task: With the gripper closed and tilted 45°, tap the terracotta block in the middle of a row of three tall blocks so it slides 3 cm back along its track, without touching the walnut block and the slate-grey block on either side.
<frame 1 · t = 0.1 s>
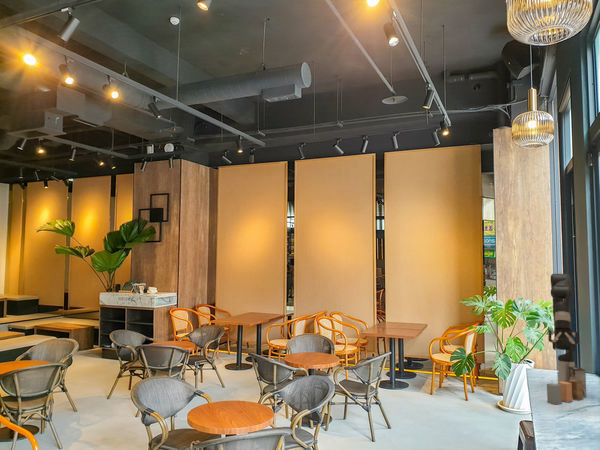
hand: (563, 350, 244), 31 cm above the table, tool tilted 20°, fingers open, 8 cm apart
coffee box: (578, 395, 272), on the table
slate block: (554, 393, 256), point 5 cm above the table, slide at 0.0 cm
walnut block: (575, 389, 265), point 5 cm above the table, slide at 0.0 cm
terracotta block: (565, 391, 260), point 5 cm above the table, slide at 0.0 cm
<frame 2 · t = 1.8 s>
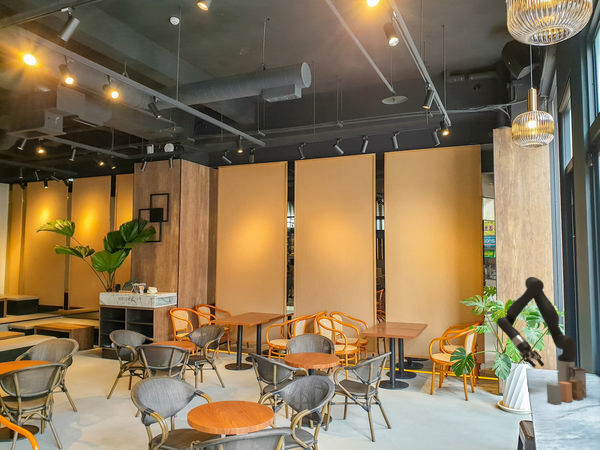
hand: (538, 366, 275), 17 cm above the table, tool tilted 45°, fingers open, 8 cm apart
nothing on the table moved.
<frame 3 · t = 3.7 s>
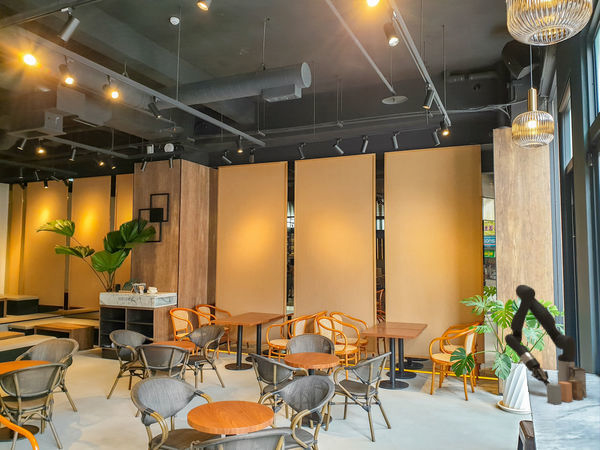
hand: (549, 386, 268), 6 cm above the table, tool tilted 45°, fingers closed
nothing on the table moved.
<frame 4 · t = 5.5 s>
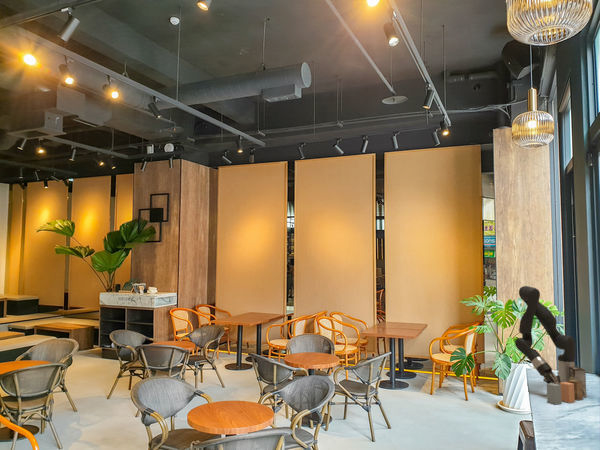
hand: (562, 391, 262), 5 cm above the table, tool tilted 45°, fingers closed
terracotta block: (567, 392, 259), point 5 cm above the table, slide at 1.4 cm, touching gripper
everything else where it was.
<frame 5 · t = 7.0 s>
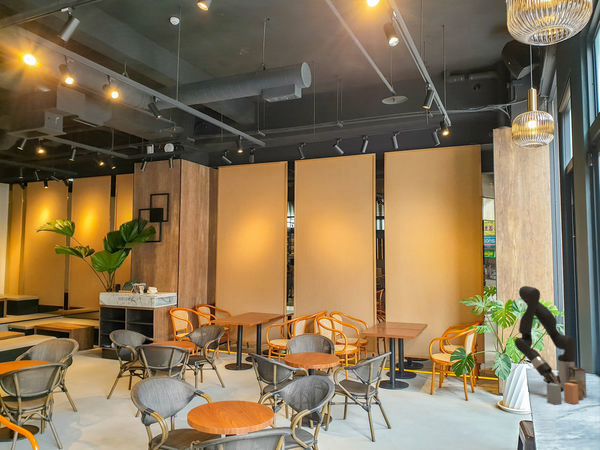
hand: (562, 391, 262), 5 cm above the table, tool tilted 45°, fingers closed
terracotta block: (571, 393, 257), point 5 cm above the table, slide at 3.6 cm
everything else where it was.
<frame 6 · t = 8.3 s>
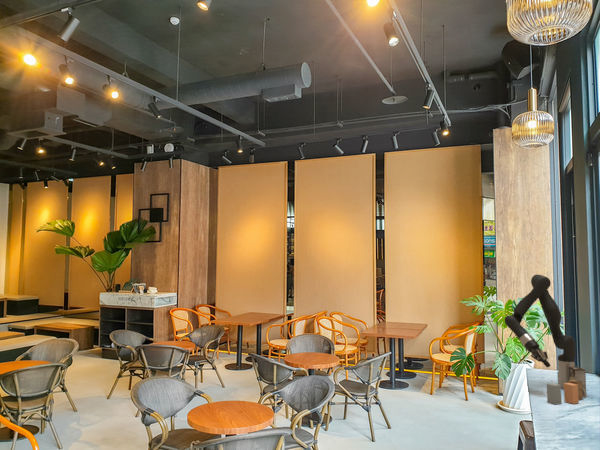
hand: (548, 366, 270), 18 cm above the table, tool tilted 45°, fingers closed
nothing on the table moved.
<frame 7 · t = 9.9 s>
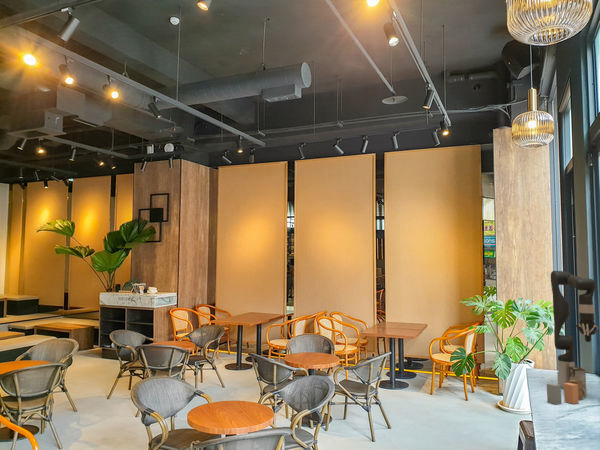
hand: (588, 341, 268), 33 cm above the table, tool pointing down, fingers closed
nothing on the table moved.
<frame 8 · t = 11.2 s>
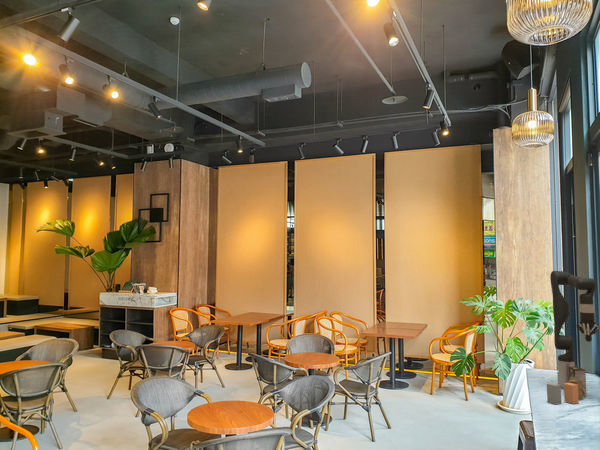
hand: (588, 341, 268), 33 cm above the table, tool pointing down, fingers closed
nothing on the table moved.
at the end: terracotta block slide at 3.6 cm; walnut block slide at 0.0 cm; slate block slide at 0.0 cm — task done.
